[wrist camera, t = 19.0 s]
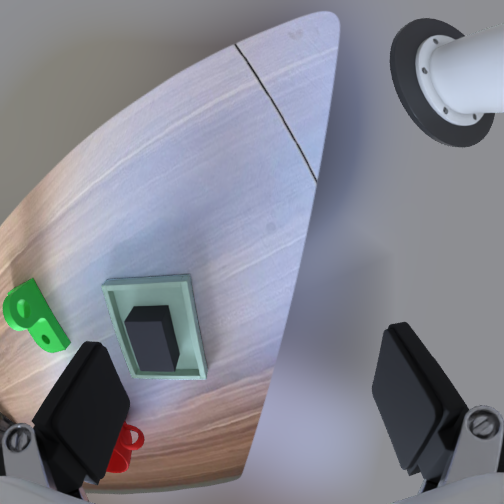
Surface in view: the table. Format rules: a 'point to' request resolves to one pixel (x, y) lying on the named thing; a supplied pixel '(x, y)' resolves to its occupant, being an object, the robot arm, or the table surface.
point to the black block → (153, 338)
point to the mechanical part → (34, 317)
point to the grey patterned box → (4, 426)
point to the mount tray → (182, 314)
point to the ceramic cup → (124, 449)
